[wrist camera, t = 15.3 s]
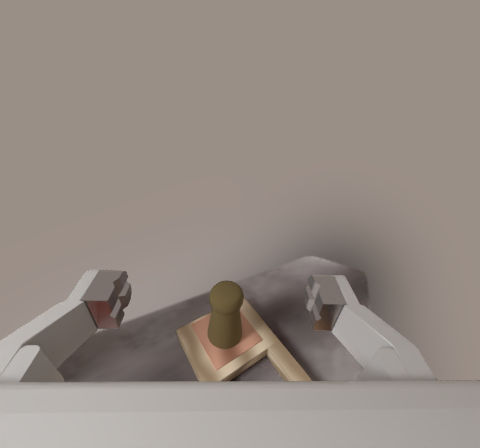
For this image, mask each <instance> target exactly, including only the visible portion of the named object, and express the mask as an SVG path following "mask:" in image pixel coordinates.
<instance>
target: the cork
mask: <svg viewBox="0 0 480 448" xmlns="http://www.w3.org/2000/svg"><path fill="white" fill-rule="evenodd" d="M243 299H244V296H243V291H242V289H241V288H240V286H239V285H237V284H236V283H234V282H232V281H222V282H219V283H218V284H216V285H215V286H214V287H213V288H212V290H211V292H210V295H209V300H210V305H211V307H212V312H211V316H210V321H209V326H208V331H207V333H208V338H209V341H210V342H211V343H212V344H213V345H214V346H215V347H217V348H220V349H229V348H232V347H234V346H236V345H237V344H238V343H239V341H240V339H241V337H242V325H241V315H240V308H241V306H242V304H243Z"/></svg>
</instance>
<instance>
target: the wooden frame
mask: <svg viewBox="0 0 480 448" xmlns="http://www.w3.org/2000/svg"><path fill="white" fill-rule="evenodd" d="M240 315H241V325H242V337H241V339H240V341H239V343H238V344H237V345H236V346H234V347H232V348H229V349H220V348H217V347H215V346H214V345H213V344H212V343H211V342H210V341H209V338H208V333H207V331H208V326H209V321H210V316H211V312H210V313H208V314H206V315H204V316H202V317H200V318H198V319H196V320H195V321H193V322H191V323H189V324H187V325H185V326H183V327H181V328H179V329H177V330H176V331H177V337H178V340H179V342H180V344H181V346H182V348H183V350H184V352H185V354H186V356H187V358H188V360H189V362H190V364H191V366H192V368H193V370H194V372H195V375H196V377H197V379H198V381H231V380H232V379H233V378H235V377H236V376H238V375H239V374H240V373H242V372H243V371H245V370H246V369H248V368H249V367H250V366H252V365H253V364H255V363H256V362H257V361H259V360H260V359H262V358H263V357H264V356H267V357H268V359H269V360H270V361H271V363H272V364H273V365H274V367H275V368H276V370H277V371H278V372H279V374H280V375H281V376H282V378H283V379H284V380H285V381H312V380H311V378H310V377H309V376H308V375H307V374H306V372H305V371H304V370H303V369H302V367H301V366H300V365H299V364H298V363H297V361H296V360H295V359H294V358H293V356H292V355H291V354H290V353H289V352H288V350H287V349H286V348H285V347H284V345H283V344H282V343H281V342H280V341H279V339H278V338H277V337H276V336H275V334H274V333H273V332H272V331H271V330H270V328H269V327H268V326H267V325H266V323H265V322H264V321H263V320H262V319H261V317H260V316H259V315H258V314H257V312H256V311H255V310H254V309H253V308H252V306H251V305H250V304H249V303H248V301H247V300H246V299H245V298H244V299H243V304H242V306H241V308H240Z"/></svg>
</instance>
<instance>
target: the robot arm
mask: <svg viewBox="0 0 480 448" xmlns="http://www.w3.org/2000/svg"><path fill="white" fill-rule="evenodd" d="M127 278H128V275H127V272H126V271H112V270H88V271H86V272H85V273H84V275H83V277H82V278H81V279H80V281H79V282H78V284H77V285H76V287H75V288H74V290H73V291H72V293H71V294H70V296H69V297H68V299H67V300H66V301H61V302H60V303H58V304H57V305H55V306H54V307H52V308H51V309H49V310H47V311H46V312H44V313H43V314H41V315H40V316H38V317H37V318H35V319H33V320H32V321H30V322H29V323H27V324H25V325H24V326H22V327H21V328H19V329H18V330H16V331H15V332H13V333H11V334H10V335H8V336H7V337H5V338H4V339H2V340H1V341H0V448H480V380H478V381H477V380H476V381H470V380H469V381H438V380H437V379H436V377H435V376H434V374H433V372H432V371H431V369H430V368H429V366H428V364H427V363H426V361H425V360H424V358H423V356H422V355H421V353H420V352H419V350H418V348H417V347H416V346H415V345H414V344H412V343H411V342H410V341H408V340H407V339H406V338H405V337H403V336H402V335H401V334H400V333H398V332H397V331H396V330H395V329H393V328H392V327H391V326H389V325H388V324H387V323H386V322H384V321H383V320H382V319H380V318H379V317H378V316H376V315H375V314H374V313H373V312H371V311H370V310H369V309H368V308H366V307H365V306H364V305H360V304H359V302H358V300H357V298H356V296H355V294H354V292H353V290H352V288H351V286H350V284H349V283H348V281H347V279H346V277H345V276H344V275H310V276H309V279H308V283H309V285H308V286H307V287H306V288H305V292H304V301H305V305H306V308H307V309H308V310H309V311H310V314H309V319H310V322H311V326H312V329H313V330H325V331H332V333H333V334H334V335H335V336H336V337H337V338H338V340H339V341H340V342H341V343H342V344H343V345H344V346H345V348H346V349H347V350H348V351H349V352H350V353H351V354H352V355H353V357H354V358H355V359H356V360H357V361H358V362H359V363H360V364H361V366H362V367H363V368H364V369H363V370H362V372H361V373H360V375H359V376H358V377H357V379H356V381H173V382H64V381H65V380H64V378H63V376H62V375H61V374H60V372H59V371H58V370H57V368H58V367H59V366H60V365H61V364H62V363H63V362H64V361H65V360H67V359H68V358H69V357H70V356H71V355H72V354H73V353H74V352H75V351H76V350H77V349H78V348H79V347H80V346H81V345H82V344H83V343H84V342H85V341H87V340H88V339H89V338H90V337H91V336H92V335H93V334H94V333H95V332H96V331H97V330H98V329H111V328H119V326H120V324H121V321H122V319H123V317H124V312H123V309H124V308H125V307H127V306H128V304H129V302H130V299H131V285H130V283H128V282H127Z"/></svg>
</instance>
